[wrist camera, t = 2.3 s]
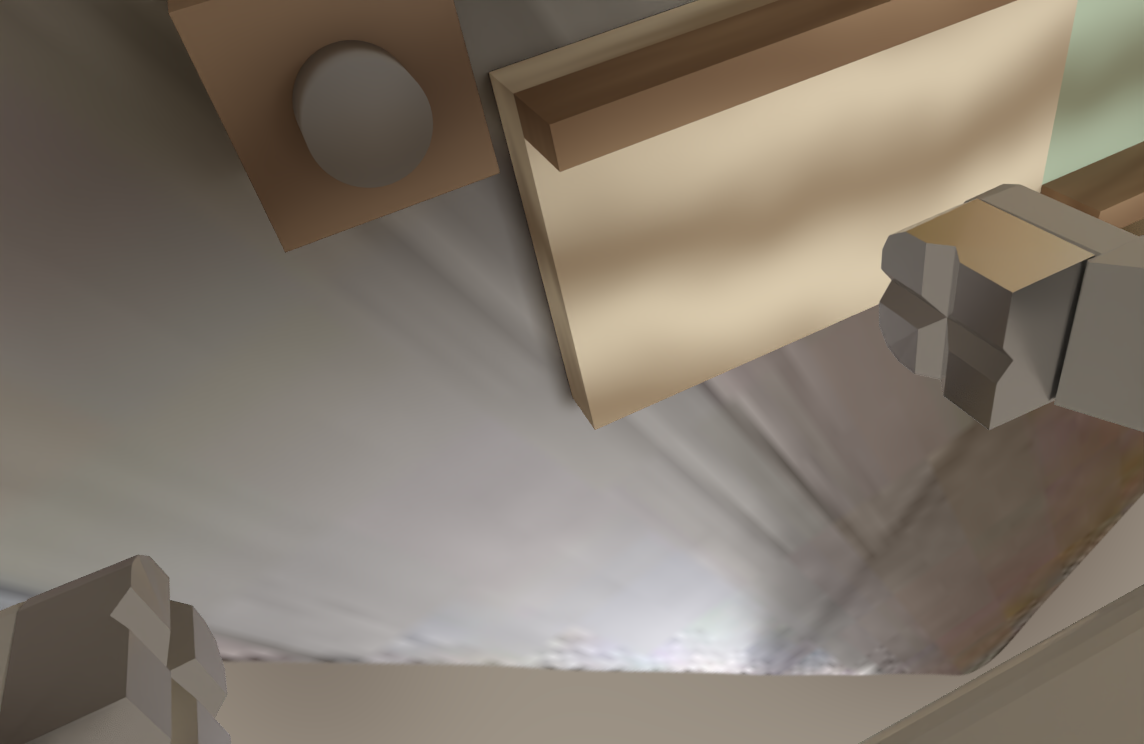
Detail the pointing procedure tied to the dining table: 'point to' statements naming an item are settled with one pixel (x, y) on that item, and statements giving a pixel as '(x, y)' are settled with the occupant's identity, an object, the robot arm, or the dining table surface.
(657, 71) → the rail board
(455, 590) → the dining table surface
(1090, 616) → the robot arm
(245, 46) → the knobbed wooden block
